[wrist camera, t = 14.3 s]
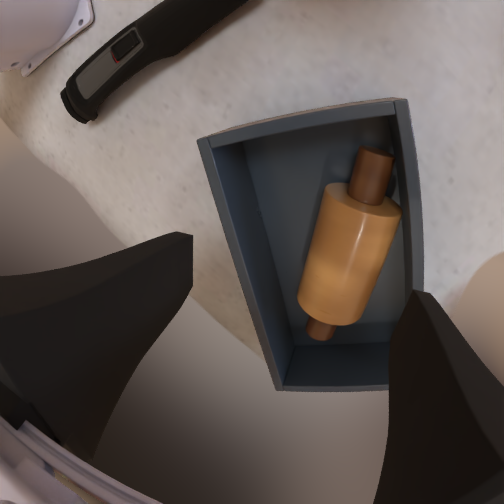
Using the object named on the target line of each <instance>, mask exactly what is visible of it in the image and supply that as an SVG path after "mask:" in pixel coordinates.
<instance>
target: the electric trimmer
mask: <svg viewBox="0 0 504 504" xmlns="http://www.w3.org/2000/svg"><path fill="white" fill-rule="evenodd" d="M247 1H249V0H164V1H163V2H161V3H160V4H158V5H157V6H155V7H154V8H152V9H151V10H150V11H148V12H147V13H146V14H144V15H143V16H142V17H140V18H139V19H137V20H136V21H134V22H133V23H131V24H130V25H128V26H127V27H125V28H124V29H123V30H121V31H120V32H119V33H117V34H116V35H115V36H114V37H113V38H111V39H110V40H109V41H108V42H107V43H105V44H104V45H103V46H102V47H101V48H100V49H98V50H97V51H96V52H95V53H94V54H93V55H92V56H91V57H89V58H88V59H87V60H86V61H85V62H84V63H83V64H82V65H81V66H80V67H79V68H78V69H77V70H76V71H75V72H74V73H73V75H72V76H71V77H70V78H69V79H68V81H67V83H66V87H65V88H64V89H63V90H62V91H61V93H60V95H61V99H62V101H63V103H64V106H65V108H66V110H67V111H68V113H69V114H70V115H71V116H72V117H73V118H74V119H76V120H77V121H79V122H81V123H83V124H86V123H87V122H88V121H90V120H92V121H94V120H95V119H96V118H97V117H98V114H97V112H96V109H97V107H98V106H99V105H100V104H101V103H102V102H103V101H104V100H105V99H106V98H107V97H108V96H109V95H110V94H112V93H113V92H114V91H115V90H116V89H117V88H119V87H120V86H121V85H122V84H123V83H124V82H126V81H127V80H128V79H129V78H130V77H132V76H133V75H134V74H135V73H137V72H138V71H140V70H141V69H143V68H144V67H146V66H147V65H149V64H150V63H152V62H155V61H157V60H160V59H163V58H167V57H171V56H174V55H176V54H178V53H179V52H180V51H182V50H183V49H184V48H186V47H187V46H188V45H190V44H191V43H192V42H193V41H195V40H196V39H197V38H198V37H200V36H201V35H202V34H203V33H205V32H206V31H207V30H208V29H210V28H211V27H212V26H214V25H215V24H216V23H218V22H219V21H220V20H222V19H223V18H224V17H226V16H227V15H229V14H230V13H231V12H233V11H234V10H236V9H237V8H239V7H240V6H241V5H243V4H244V3H246V2H247Z"/></svg>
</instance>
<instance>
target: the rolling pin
mask: <svg viewBox="0 0 504 504" xmlns="http://www.w3.org/2000/svg"><path fill="white" fill-rule="evenodd" d="M395 159H396V157H395V156H394V155H392V154H391V153H389V152H386V151H384V150H381V149H378V148H375V147H371V146H366V145H360V146H359V148H358V153H357V157H356V161H355V165H354V168H353V172H352V176H351V180H350V184H349V183H331V184H328V185H327V186H326V187H325V189H324V193H323V197H322V201H321V205H320V209H319V213H318V217H317V221H316V225H315V229H314V233H313V236H312V240H311V244H310V248H309V251H308V255H307V259H306V262H305V266H304V270H303V273H302V277H301V280H300V284H299V287H298V291H297V299H298V302H299V304H300V306H301V307H302V309H303V310H304V311H305V312H306V313H307V314H309V318H308V321H307V324H306V332H307V334H308V335H309V336H310V337H311V338H313V339H315V340H318V341H326V340H329V339H330V338H332V336H333V334H334V332H335V330H336V327H337V325H349V324H352V323H354V322H356V321H357V320H359V319H360V318H361V316H362V314H363V312H364V310H365V308H366V305H367V303H368V301H369V299H370V296H371V294H372V292H373V289H374V287H375V285H376V282H377V280H378V278H379V275H380V273H381V270H382V268H383V265H384V263H385V260H386V258H387V255H388V253H389V250H390V248H391V245H392V242H393V240H394V237H395V234H396V232H397V229H398V226H399V223H400V220H401V218H402V215H403V211H402V208H401V207H400V206H399V205H398V204H397V203H396V202H395V201H393V200H392V199H391V198H389V197H387V196H385V194H386V190H387V187H388V184H389V180H390V177H391V174H392V170H393V167H394V163H395Z"/></svg>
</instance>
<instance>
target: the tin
mask: <svg viewBox="0 0 504 504" xmlns="http://www.w3.org/2000/svg"><path fill="white" fill-rule="evenodd" d="M197 144H198V148H199V151H200V154H201V158H202V161H203V164H204V168H205V171H206V174H207V178H208V181H209V184H210V187H211V191H212V194H213V197H214V200H215V204H216V207H217V210H218V213H219V217H220V220H221V223H222V226H223V230H224V233H225V236H226V239H227V242H228V246H229V249H230V252H231V255H232V258H233V261H234V265H235V268H236V271H237V274H238V277H239V280H240V283H241V286H242V290H243V293H244V296H245V299H246V302H247V305H248V308H249V311H250V314H251V317H252V320H253V323H254V326H255V330H256V333H257V336H258V339H259V342H260V345H261V348H262V351H263V354H264V357H265V360H266V363H267V366H268V369H269V372H270V374H271V377H272V381H273V384H274V386H275V389H276V390H277V391H296V392H360V391H383V390H389V374H388V362H389V350H390V340H391V335H392V333H393V331H394V329H395V327H396V325H397V323H398V321H399V319H400V317H401V315H402V313H403V310H404V308H405V306H406V304H407V302H408V299H409V297H410V295H411V293H412V290H413V289H415V290H419V291H424V241H423V218H422V202H421V190H420V180H419V170H418V162H417V154H416V147H415V140H414V133H413V127H412V121H411V115H410V110H409V105H408V100H407V99H403V98H393V97H392V98H383V99H375V100H367V101H360V102H353V103H346V104H340V105H334V106H328V107H322V108H317V109H311V110H306V111H301V112H296V113H291V114H286V115H281V116H277V117H272V118H268V119H264V120H259V121H255V122H251V123H247V124H243V125H239V126H235V127H231V128H228V129H225V130H222V131H220V132H217V133H214V134H211V135H208V136H205V137H203V138H200V139H197ZM360 145H366V146H371V147H375V148H378V149H381V150H384V151H386V152H389V153H391V154H392V155H394V156H395V157H396V159H395V163H394V167H393V170H392V174H391V177H390V180H389V184H388V187H387V190H386V194H385V196H387V197H389V198H391V199H392V200H393V201H395V202H396V203H397V204H398V205H399V206H400V207H401V208H402V211H403V215H402V218H401V220H400V223H399V226H398V229H397V232H396V234H395V237H394V240H393V242H392V245H391V248H390V250H389V253H388V255H387V258H386V260H385V263H384V265H383V268H382V270H381V273H380V275H379V278H378V280H377V282H376V285H375V287H374V289H373V292H372V294H371V296H370V299H369V301H368V303H367V305H366V308H365V310H364V312H363V314H362V316H361V318H360V319H359V320H357V321H356V322H354V323H352V324H349V325H337V327H336V330H335V332H334V334H333V336H332V338H330V339H329V340H326V341H318V340H315V339H313V338H311V337H310V336H309V335H308V334H307V332H306V324H307V321H308V318H309V314H307V313H306V312H305V311H304V310H303V309H302V307H301V306H300V304H299V302H298V299H297V291H298V287H299V284H300V280H301V277H302V273H303V270H304V266H305V262H306V259H307V255H308V251H309V248H310V244H311V240H312V236H313V233H314V229H315V225H316V221H317V217H318V213H319V209H320V205H321V201H322V197H323V193H324V189H325V187H326V186H327V185H328V184H331V183H349V184H350V180H351V176H352V172H353V168H354V165H355V161H356V157H357V153H358V148H359V146H360Z"/></svg>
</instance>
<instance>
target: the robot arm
mask: <svg viewBox="0 0 504 504" xmlns="http://www.w3.org/2000/svg"><path fill="white" fill-rule="evenodd" d="M92 21H93V12H92V7H91V1H90V0H0V72H3V71H8V70H14V69H21V74H22V76H23V77H26V76H28V75H29V74H30V73H31V72H32V71H33V70H35V69H36V68H37V67H38V66H39V65H40V64H41V63H42V62H43V61H45V60H46V59H47V58H48V57H49V56H50V55H52V54H53V53H54V52H55V51H56V50H58V49H59V48H60V47H61V46H62V45H64V44H65V43H66V42H67V41H69V40H70V39H71V38H73V37H74V36H75V35H76V34H78V33H79V32H80V31H82V30H83V29H84V28H86V27H87V26H89V25H90V24H91V23H92ZM82 22H83V24H82ZM192 287H193V235H190V234H185V233H181V232H177V231H176V232H172V233H169V234H165V235H162V236H159V237H157V238H154V239H151V240H148V241H146V242H143V243H140V244H138V245H135V246H132V247H130V248H127V249H124V250H122V251H119V252H116V253H112V254H110V255H107V256H104V257H101V258H98V259H95V260H91V261H88V262H85V263H81V264H77V265H73V266H69V267H65V268H60V269H54V270H50V271H44V272H38V273H31V274H23V275H12V276H0V504H88V503H87V502H85V501H84V500H83V499H82V498H81V497H79V496H78V495H77V494H76V493H75V492H73V491H72V490H70V489H69V488H68V487H66V486H65V485H63V484H62V483H61V482H59V481H58V480H56V479H55V473H54V471H56V472H57V473H58V474H60V475H61V476H63V477H64V478H65V479H67V480H68V481H70V482H71V483H73V484H74V485H76V486H77V487H79V488H80V489H82V490H84V491H85V492H86V493H88V494H90V495H91V496H93V497H95V498H96V499H98V500H100V501H101V502H103V503H105V504H163V503H160V502H158V501H156V500H154V499H152V498H149V497H147V496H145V495H143V494H141V493H139V492H137V491H135V490H133V489H131V488H129V487H127V486H125V485H123V484H122V483H120V482H118V481H116V480H114V479H112V478H111V477H109V476H107V475H105V474H104V473H102V472H100V471H98V470H97V469H95V468H94V467H92V466H90V465H89V464H87V463H85V462H87V461H91V460H93V457H94V454H95V451H96V449H97V446H98V444H99V441H100V439H101V436H102V434H103V432H104V429H105V427H106V425H107V423H108V420H109V418H110V416H111V414H112V412H113V410H114V408H115V406H116V404H117V402H118V400H119V398H120V396H121V394H122V392H123V390H124V388H125V387H126V385H127V383H128V381H129V379H130V378H131V376H132V374H133V373H134V371H135V369H136V368H137V366H138V364H139V363H140V361H141V360H142V358H143V357H144V355H145V354H146V353H147V351H148V350H149V349H150V347H151V346H152V345H153V343H154V342H155V341H156V339H157V338H158V337H159V336H160V334H161V333H162V332H163V331H164V329H165V328H166V327H167V325H168V324H169V323H170V321H171V320H172V319H173V317H174V316H175V315H176V313H177V312H178V311H179V309H180V308H181V306H182V305H183V303H184V301H185V299H186V298H187V296H188V294H189V292H190V290H191V288H192ZM388 374H389V427H388V438H387V445H386V451H385V456H384V462H383V467H382V471H381V476H380V480H379V484H378V489H377V492H376V496H375V499H374V502H373V504H504V386H503V385H502V384H501V383H500V382H499V381H498V380H497V378H496V377H495V376H494V375H493V374H492V373H491V372H490V371H489V369H488V368H487V367H486V366H485V365H484V363H483V362H482V361H481V360H480V358H479V357H478V356H477V354H476V353H475V352H474V350H473V349H472V348H471V347H470V345H469V344H468V343H467V341H466V340H465V339H464V337H463V336H462V335H461V333H460V332H459V330H458V329H457V328H456V326H455V325H454V323H453V322H452V321H451V319H450V318H449V317H448V315H447V314H446V312H445V311H444V310H443V308H442V307H441V306H440V304H439V303H438V302H437V301H436V299H435V298H434V297H433V296H432V295H431V294H430V293H427V292H423V291H419V290H415V289H413V290H412V293H411V295H410V297H409V299H408V302H407V304H406V306H405V308H404V310H403V313H402V315H401V317H400V319H399V321H398V323H397V325H396V327H395V329H394V331H393V333H392V335H391V340H390V350H389V362H388ZM53 470H54V471H53Z"/></svg>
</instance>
